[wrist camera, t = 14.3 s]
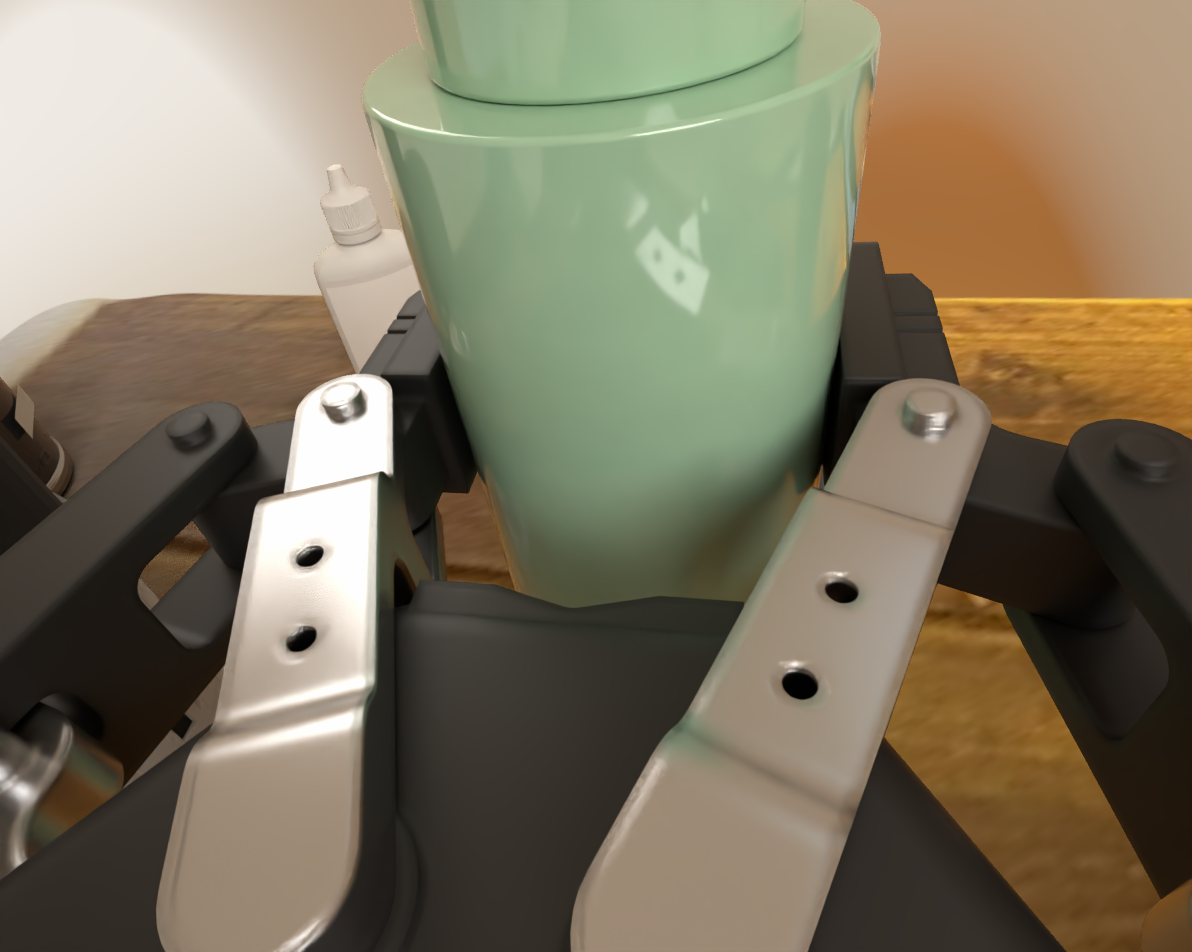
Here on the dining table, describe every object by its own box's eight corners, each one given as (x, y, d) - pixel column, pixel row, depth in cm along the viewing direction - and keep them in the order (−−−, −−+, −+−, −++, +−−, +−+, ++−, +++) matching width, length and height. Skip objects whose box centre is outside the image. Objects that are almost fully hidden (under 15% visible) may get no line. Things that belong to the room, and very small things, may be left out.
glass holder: (181, 628, 31) (-92, 329, 20) (419, 803, 24) (198, 496, 14) (-29, 809, 26) (-525, 540, 16) (199, 1087, 20) (-392, 945, 9)
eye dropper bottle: (445, 393, 41) (375, 182, 32) (351, 396, 42) (259, 191, 33) (462, 348, 44) (403, 144, 35) (375, 351, 45) (296, 153, 36)
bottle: (786, 714, 16) (1086, 2266, 2) (561, 692, 17) (-254, 1634, 3) (808, 72, 16) (1243, -2625, 2) (582, 89, 17) (-127, -1669, 3)
